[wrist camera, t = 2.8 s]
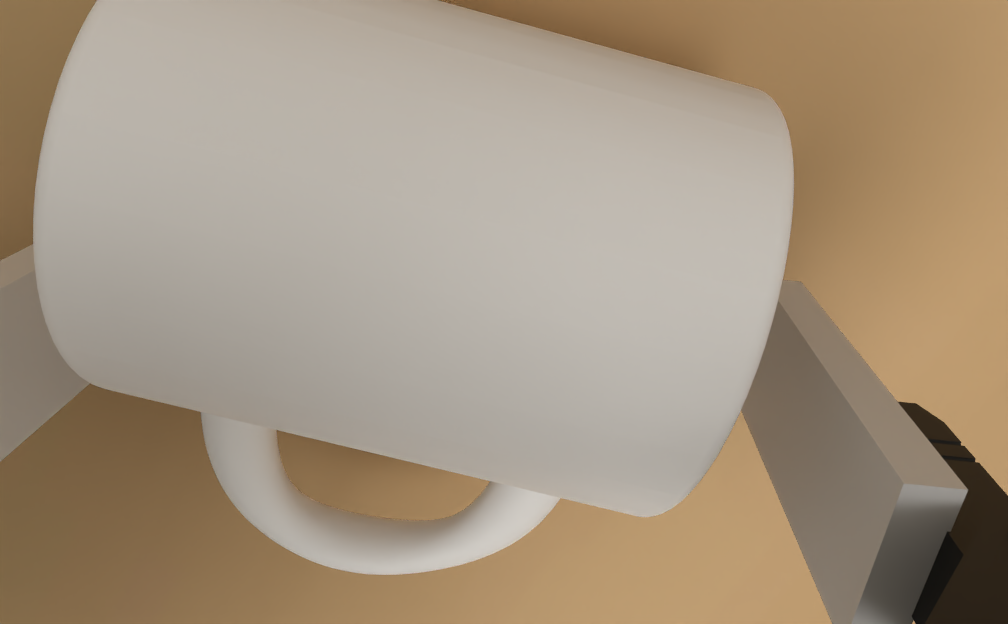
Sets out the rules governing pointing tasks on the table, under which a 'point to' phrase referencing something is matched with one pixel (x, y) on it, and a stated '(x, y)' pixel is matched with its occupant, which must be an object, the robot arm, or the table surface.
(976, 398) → the table surface
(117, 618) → the table surface
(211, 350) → the mug
